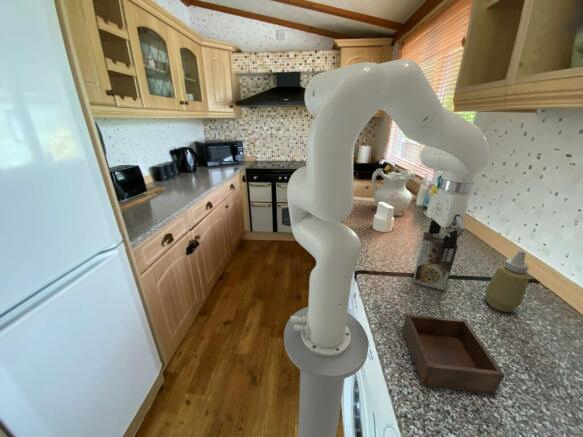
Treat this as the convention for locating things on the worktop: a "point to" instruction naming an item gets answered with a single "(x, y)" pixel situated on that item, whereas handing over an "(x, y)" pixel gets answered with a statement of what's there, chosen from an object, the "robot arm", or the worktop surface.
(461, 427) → the worktop surface
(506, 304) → the squeeze bottle
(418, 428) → the worktop surface
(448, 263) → the coffee box
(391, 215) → the base with upright slab
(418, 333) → the tray
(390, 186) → the ceramic pitcher
